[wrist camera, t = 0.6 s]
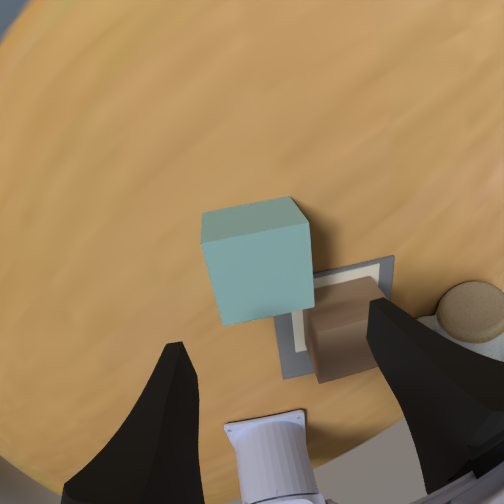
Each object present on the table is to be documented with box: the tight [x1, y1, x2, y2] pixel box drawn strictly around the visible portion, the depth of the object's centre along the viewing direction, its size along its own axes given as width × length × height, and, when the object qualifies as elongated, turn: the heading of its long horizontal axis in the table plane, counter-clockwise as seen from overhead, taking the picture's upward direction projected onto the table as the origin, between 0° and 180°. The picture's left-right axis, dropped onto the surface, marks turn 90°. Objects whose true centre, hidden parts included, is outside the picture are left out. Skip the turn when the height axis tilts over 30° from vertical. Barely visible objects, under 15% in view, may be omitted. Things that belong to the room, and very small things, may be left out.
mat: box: [273, 255, 394, 380], centre depth 23 cm, size 10×9×1 cm
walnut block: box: [302, 276, 388, 384], centre depth 20 cm, size 5×5×4 cm
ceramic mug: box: [416, 281, 504, 361], centre depth 21 cm, size 11×8×8 cm
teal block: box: [201, 196, 315, 326], centre depth 17 cm, size 5×5×4 cm
